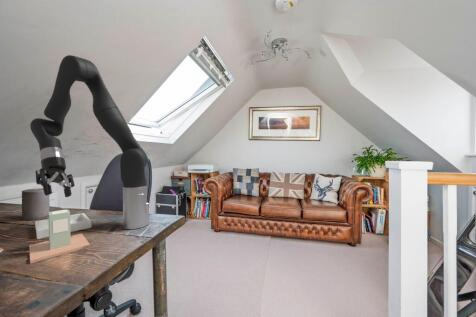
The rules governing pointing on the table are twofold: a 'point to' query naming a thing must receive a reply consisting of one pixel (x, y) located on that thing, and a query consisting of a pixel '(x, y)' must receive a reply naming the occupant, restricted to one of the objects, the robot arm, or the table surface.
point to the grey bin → (76, 224)
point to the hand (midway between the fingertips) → (59, 195)
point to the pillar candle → (34, 204)
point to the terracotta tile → (44, 252)
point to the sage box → (59, 229)
